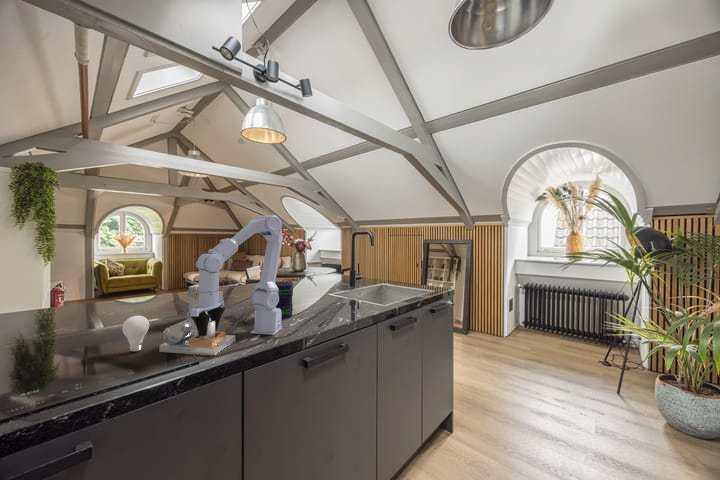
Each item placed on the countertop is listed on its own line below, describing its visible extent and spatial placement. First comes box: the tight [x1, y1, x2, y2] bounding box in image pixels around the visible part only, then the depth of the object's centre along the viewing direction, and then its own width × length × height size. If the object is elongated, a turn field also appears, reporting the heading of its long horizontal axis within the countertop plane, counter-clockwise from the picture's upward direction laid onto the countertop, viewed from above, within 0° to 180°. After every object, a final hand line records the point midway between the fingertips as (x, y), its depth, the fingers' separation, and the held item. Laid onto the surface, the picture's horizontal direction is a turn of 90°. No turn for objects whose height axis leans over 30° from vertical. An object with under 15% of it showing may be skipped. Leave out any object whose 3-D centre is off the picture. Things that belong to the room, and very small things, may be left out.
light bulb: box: [121, 315, 150, 353], centre depth 89 cm, size 7×7×11 cm
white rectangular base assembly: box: [158, 317, 237, 356], centre depth 95 cm, size 18×12×8 cm, turn 84°
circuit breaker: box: [186, 283, 224, 320], centre depth 124 cm, size 8×14×15 cm, turn 174°
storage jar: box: [275, 281, 294, 321], centre depth 131 cm, size 10×10×15 cm
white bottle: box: [200, 318, 216, 339], centre depth 95 cm, size 4×4×7 cm
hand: (208, 332), depth 95 cm, fingers open, 5 cm apart
